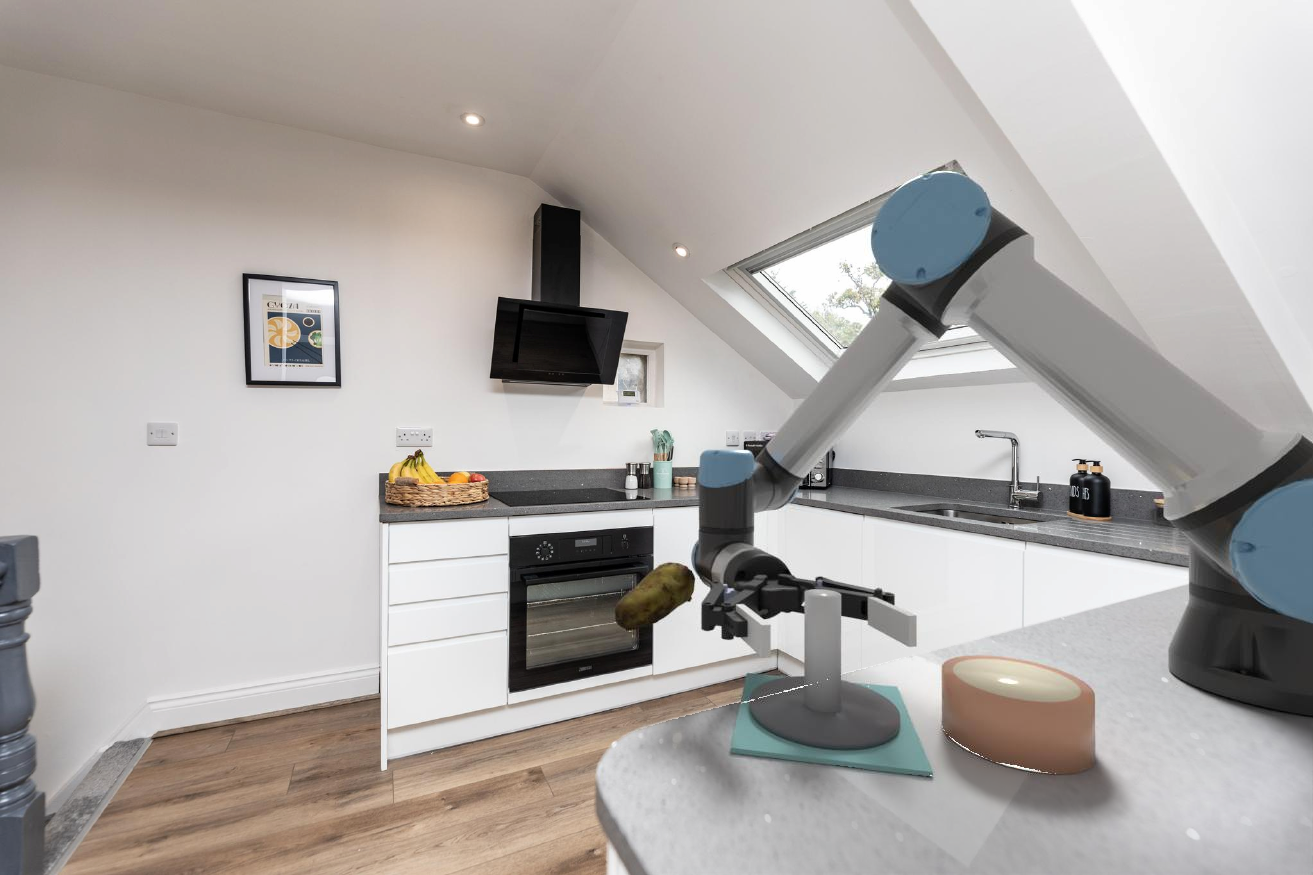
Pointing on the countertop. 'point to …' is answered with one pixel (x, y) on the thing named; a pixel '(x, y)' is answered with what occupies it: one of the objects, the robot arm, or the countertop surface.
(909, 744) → the mat
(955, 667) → the orange bowl
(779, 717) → the lid
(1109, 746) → the countertop surface
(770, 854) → the countertop surface
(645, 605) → the potato
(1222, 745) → the countertop surface
